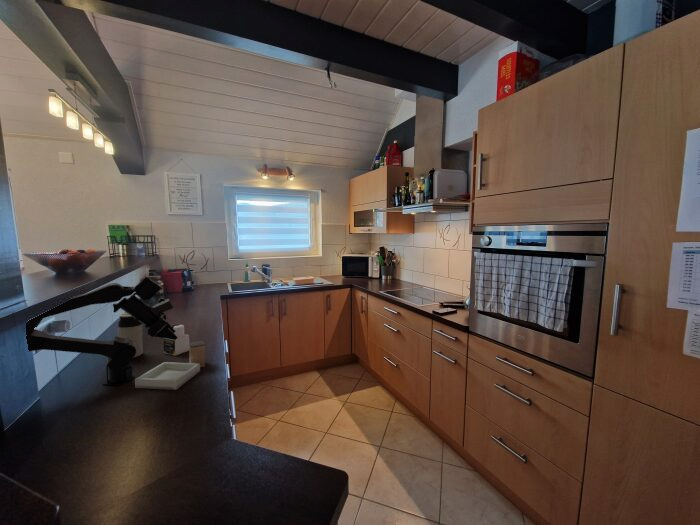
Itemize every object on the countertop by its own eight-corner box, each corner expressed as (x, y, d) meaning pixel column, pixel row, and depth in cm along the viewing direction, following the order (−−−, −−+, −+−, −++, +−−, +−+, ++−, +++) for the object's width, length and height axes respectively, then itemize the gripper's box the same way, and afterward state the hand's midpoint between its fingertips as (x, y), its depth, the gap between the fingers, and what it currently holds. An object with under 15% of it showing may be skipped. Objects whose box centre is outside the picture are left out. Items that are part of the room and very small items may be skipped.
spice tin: (190, 369, 111) (190, 346, 110) (189, 364, 115) (189, 342, 114) (205, 366, 114) (205, 343, 113) (203, 362, 118) (203, 340, 117)
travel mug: (133, 359, 119) (132, 316, 118) (114, 358, 119) (112, 315, 118) (147, 352, 127) (146, 311, 126) (129, 351, 127) (128, 311, 126)
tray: (135, 387, 96) (135, 379, 96) (164, 369, 110) (164, 362, 110) (176, 389, 95) (176, 380, 95) (200, 371, 109) (199, 363, 109)
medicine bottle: (163, 353, 126) (162, 326, 125) (178, 348, 133) (178, 322, 132) (174, 355, 123) (174, 328, 123) (189, 350, 130) (189, 324, 129)
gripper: (159, 296, 98) (195, 324, 105) (157, 289, 113) (189, 313, 120) (130, 322, 94) (170, 349, 101) (132, 311, 109) (167, 335, 116)
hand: (175, 335), depth 109 cm, fingers open, 9 cm apart
